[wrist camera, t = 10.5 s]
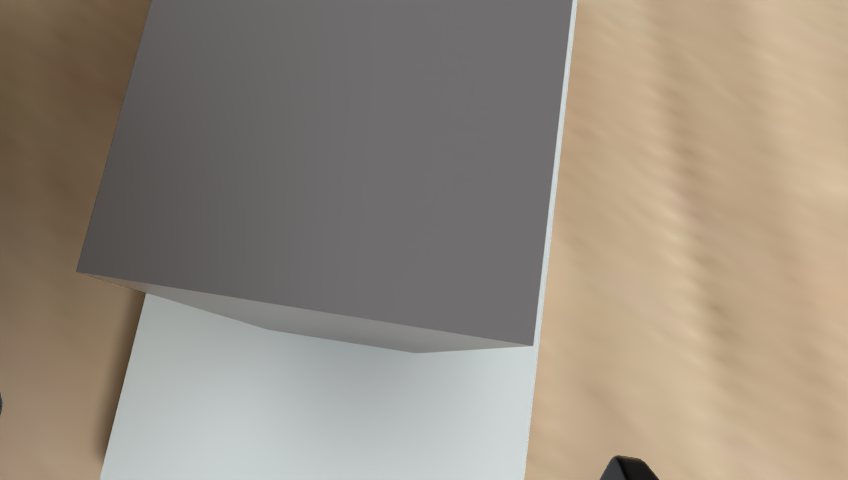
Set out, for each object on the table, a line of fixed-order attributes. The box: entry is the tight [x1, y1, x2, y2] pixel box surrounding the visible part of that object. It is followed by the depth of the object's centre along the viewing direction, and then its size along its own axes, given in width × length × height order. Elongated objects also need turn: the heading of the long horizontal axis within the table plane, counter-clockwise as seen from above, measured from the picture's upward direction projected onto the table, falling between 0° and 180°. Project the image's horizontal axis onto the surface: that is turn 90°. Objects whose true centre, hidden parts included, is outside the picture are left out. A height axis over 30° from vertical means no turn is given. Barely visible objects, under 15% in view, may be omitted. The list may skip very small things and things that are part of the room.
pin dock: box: [99, 0, 577, 480], centre depth 19 cm, size 22×12×4 cm, turn 171°
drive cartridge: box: [76, 0, 573, 353], centre depth 13 cm, size 6×4×12 cm
